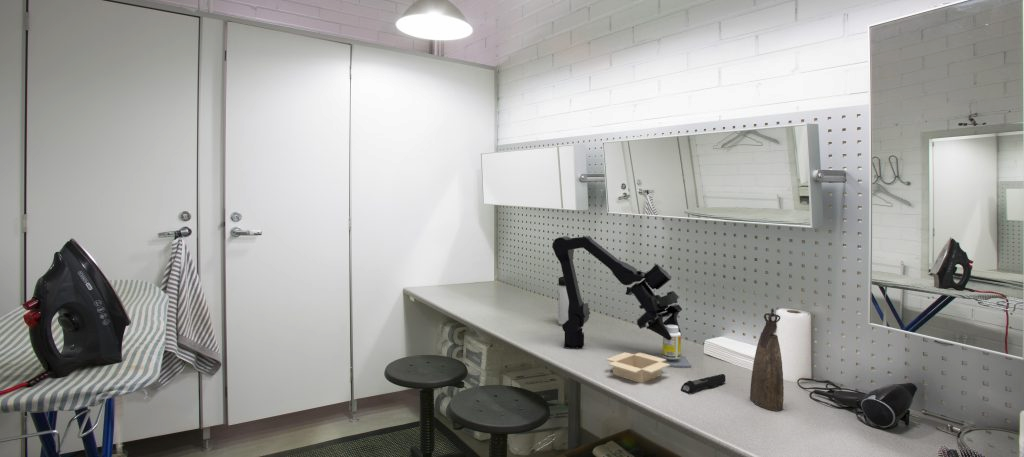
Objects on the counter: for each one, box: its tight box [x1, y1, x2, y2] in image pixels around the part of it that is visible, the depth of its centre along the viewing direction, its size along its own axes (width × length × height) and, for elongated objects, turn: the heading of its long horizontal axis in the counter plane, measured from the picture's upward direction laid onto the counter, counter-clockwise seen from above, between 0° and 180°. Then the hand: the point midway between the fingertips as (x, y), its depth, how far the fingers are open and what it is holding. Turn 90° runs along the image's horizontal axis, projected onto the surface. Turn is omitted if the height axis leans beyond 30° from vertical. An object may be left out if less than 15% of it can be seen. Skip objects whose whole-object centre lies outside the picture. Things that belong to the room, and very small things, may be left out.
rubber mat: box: [653, 354, 692, 369], centre depth 170 cm, size 10×10×1 cm
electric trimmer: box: [680, 373, 727, 395], centre depth 148 cm, size 4×16×3 cm, turn 118°
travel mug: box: [557, 276, 569, 327], centre depth 218 cm, size 6×7×20 cm
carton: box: [606, 351, 670, 384], centre depth 159 cm, size 16×16×4 cm
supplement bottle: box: [662, 325, 682, 359], centre depth 169 cm, size 6×6×10 cm
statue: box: [749, 308, 785, 412], centre depth 135 cm, size 9×8×25 cm
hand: (675, 337), depth 168 cm, fingers closed on supplement bottle, 5 cm apart
